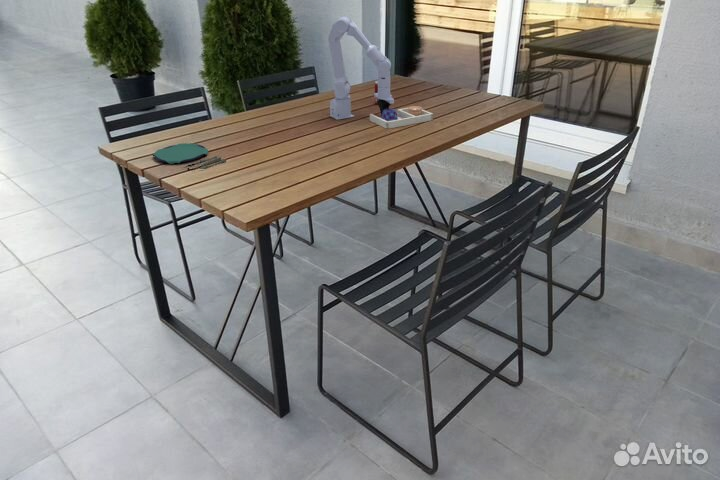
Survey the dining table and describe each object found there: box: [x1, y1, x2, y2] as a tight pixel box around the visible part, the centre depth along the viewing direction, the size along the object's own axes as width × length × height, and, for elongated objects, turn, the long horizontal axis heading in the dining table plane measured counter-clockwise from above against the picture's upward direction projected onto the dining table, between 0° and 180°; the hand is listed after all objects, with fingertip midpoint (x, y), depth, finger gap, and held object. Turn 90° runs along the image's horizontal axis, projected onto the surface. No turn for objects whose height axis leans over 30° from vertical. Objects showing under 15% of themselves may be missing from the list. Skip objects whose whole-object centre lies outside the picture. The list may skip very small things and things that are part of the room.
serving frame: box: [369, 107, 434, 130], centre depth 252 cm, size 25×15×3 cm, turn 119°
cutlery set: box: [152, 142, 227, 170], centre depth 212 cm, size 20×30×2 cm, turn 46°
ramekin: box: [407, 105, 423, 116], centre depth 254 cm, size 7×7×5 cm
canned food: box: [374, 80, 391, 106], centre depth 277 cm, size 8×8×11 cm
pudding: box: [378, 107, 403, 121], centre depth 252 cm, size 12×12×5 cm
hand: (383, 115), depth 256 cm, fingers closed
